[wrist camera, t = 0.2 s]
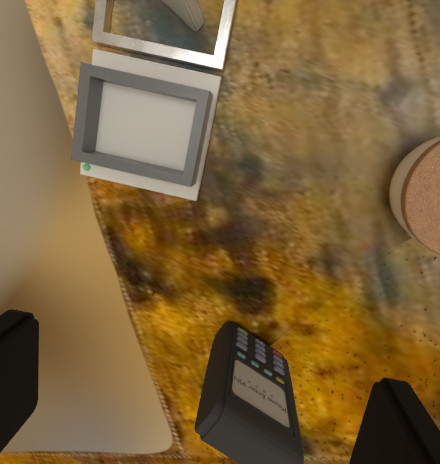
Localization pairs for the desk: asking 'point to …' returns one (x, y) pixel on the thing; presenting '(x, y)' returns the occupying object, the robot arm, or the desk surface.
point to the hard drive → (187, 12)
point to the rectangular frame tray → (163, 51)
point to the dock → (144, 123)
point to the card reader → (248, 401)
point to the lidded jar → (419, 194)
